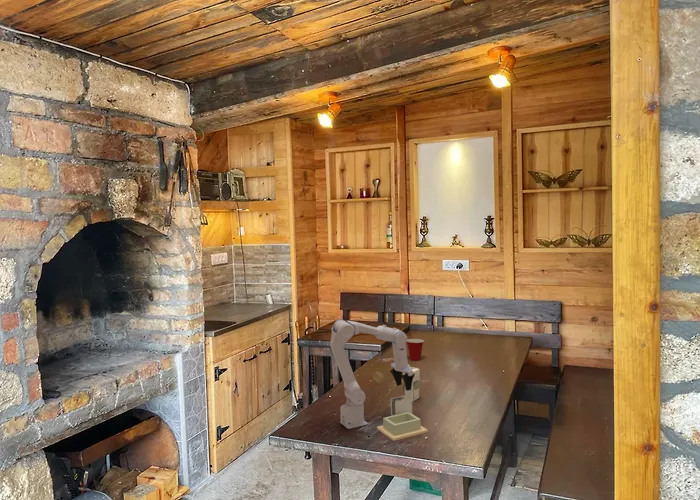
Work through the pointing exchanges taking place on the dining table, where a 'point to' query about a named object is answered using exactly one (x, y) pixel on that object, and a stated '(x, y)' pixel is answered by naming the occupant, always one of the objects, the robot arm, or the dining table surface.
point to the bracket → (401, 405)
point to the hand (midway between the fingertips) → (403, 387)
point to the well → (401, 426)
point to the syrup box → (413, 385)
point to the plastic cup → (415, 348)
